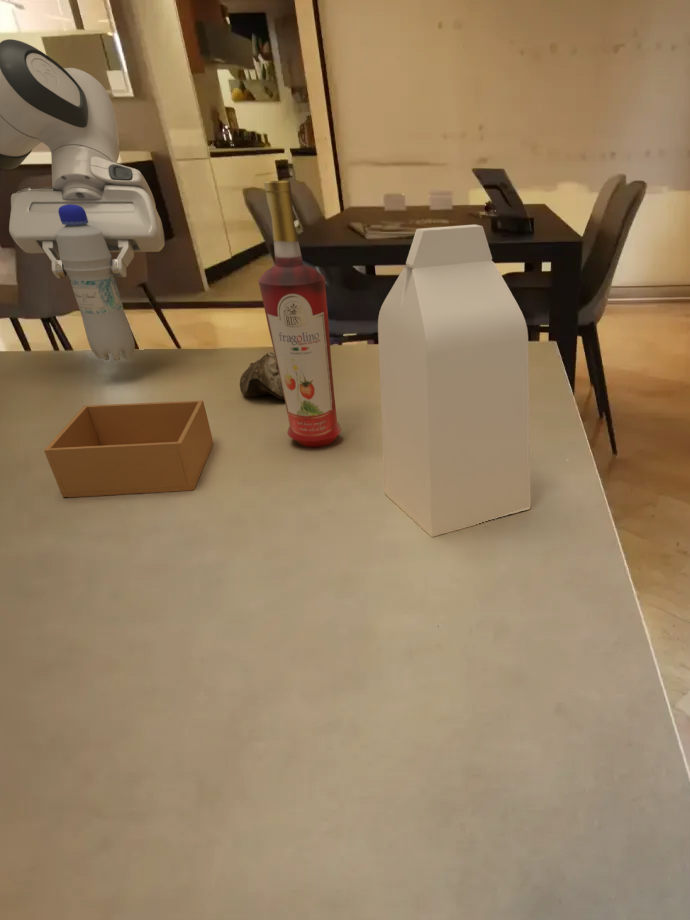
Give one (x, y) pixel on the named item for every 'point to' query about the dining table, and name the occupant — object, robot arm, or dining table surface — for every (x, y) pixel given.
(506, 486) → the milk
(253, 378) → the fossilized seashell
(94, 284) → the bottle
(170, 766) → the dining table surface
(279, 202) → the liquor
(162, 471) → the shallow wooden crate
